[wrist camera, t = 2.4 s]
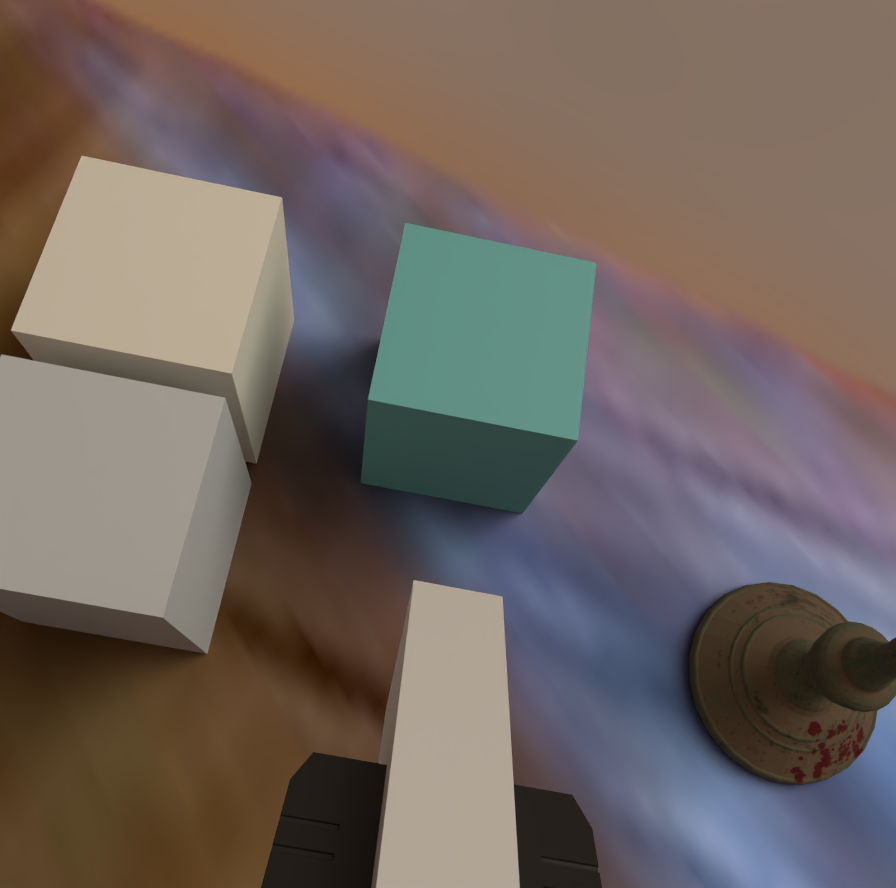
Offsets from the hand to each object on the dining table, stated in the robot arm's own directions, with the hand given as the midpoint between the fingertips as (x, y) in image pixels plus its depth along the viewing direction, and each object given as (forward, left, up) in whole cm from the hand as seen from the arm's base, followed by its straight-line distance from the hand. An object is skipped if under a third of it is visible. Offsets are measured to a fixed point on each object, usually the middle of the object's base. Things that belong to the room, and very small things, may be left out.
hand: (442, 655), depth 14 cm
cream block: (-18, -3, -24) cm, 30 cm away
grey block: (-11, -8, -24) cm, 27 cm away
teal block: (-12, +8, -24) cm, 28 cm away
